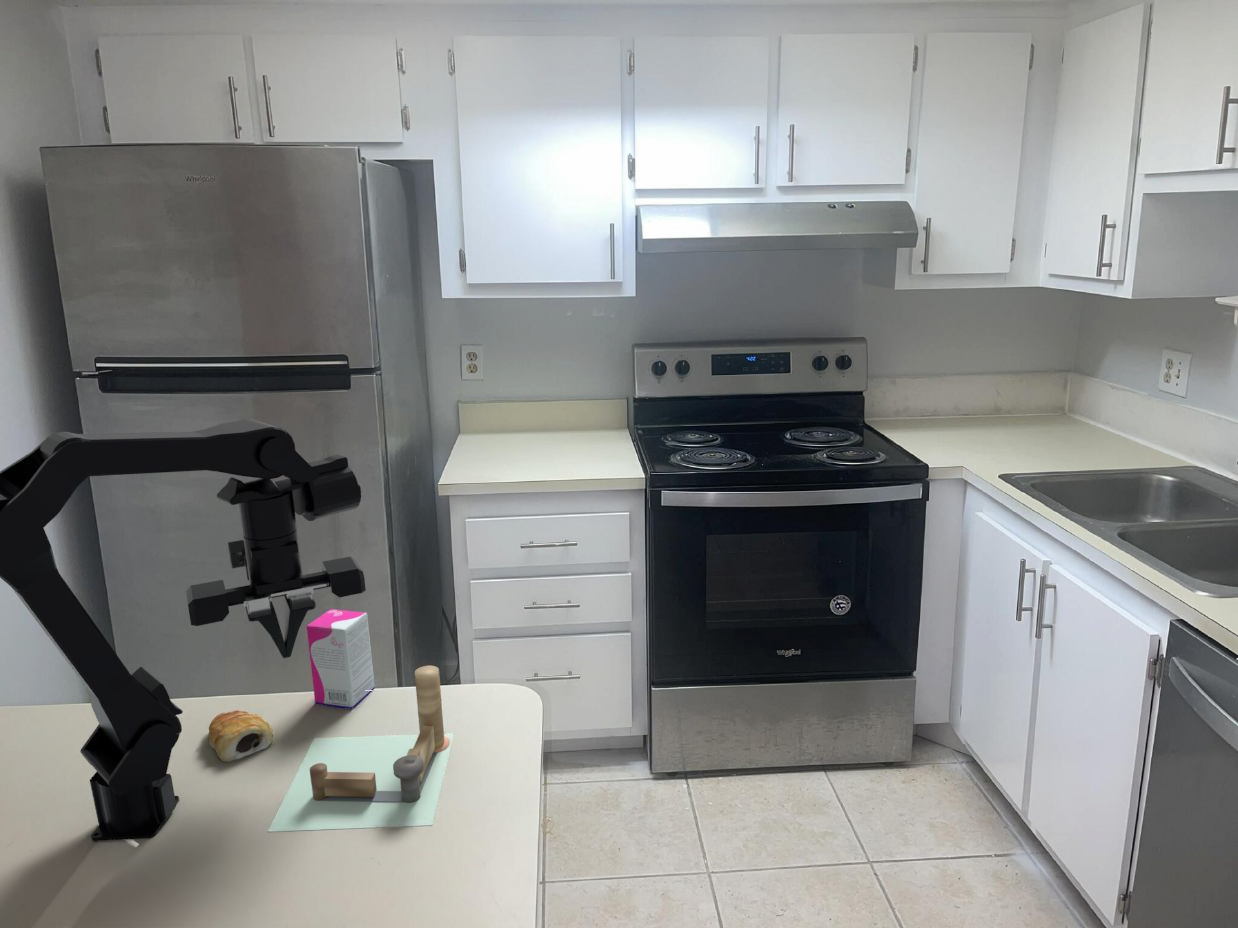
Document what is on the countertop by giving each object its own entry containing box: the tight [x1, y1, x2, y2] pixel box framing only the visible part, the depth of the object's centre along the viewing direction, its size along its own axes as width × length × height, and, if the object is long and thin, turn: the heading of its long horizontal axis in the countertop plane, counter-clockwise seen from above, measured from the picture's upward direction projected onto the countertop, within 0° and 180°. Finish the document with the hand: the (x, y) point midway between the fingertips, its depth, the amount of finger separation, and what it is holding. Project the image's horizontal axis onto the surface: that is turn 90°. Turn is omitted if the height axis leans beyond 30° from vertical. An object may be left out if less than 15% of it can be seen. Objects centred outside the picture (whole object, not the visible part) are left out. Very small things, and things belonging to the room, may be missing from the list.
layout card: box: [267, 732, 455, 833], centre depth 101 cm, size 17×17×1 cm
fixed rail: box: [310, 763, 421, 803], centre depth 97 cm, size 12×2×4 cm, turn 87°
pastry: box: [208, 710, 274, 763], centre depth 109 cm, size 9×7×4 cm
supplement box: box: [306, 608, 376, 710], centre depth 117 cm, size 6×6×12 cm
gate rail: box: [393, 665, 445, 783], centre depth 101 cm, size 13×3×10 cm, turn 178°
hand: (286, 656), depth 104 cm, fingers closed
